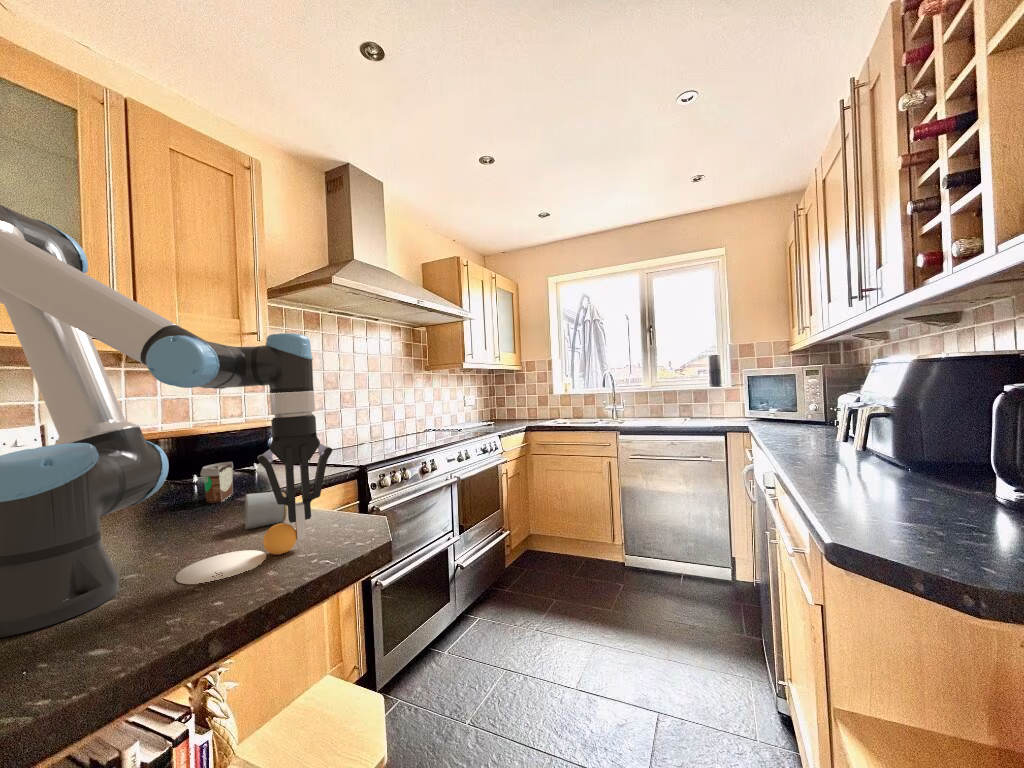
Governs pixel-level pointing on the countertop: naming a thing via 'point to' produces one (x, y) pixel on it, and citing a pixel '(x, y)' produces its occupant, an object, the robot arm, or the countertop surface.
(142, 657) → the countertop surface
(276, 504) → the ceramic mug
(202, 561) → the cream disc
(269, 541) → the ball
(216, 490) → the food container
